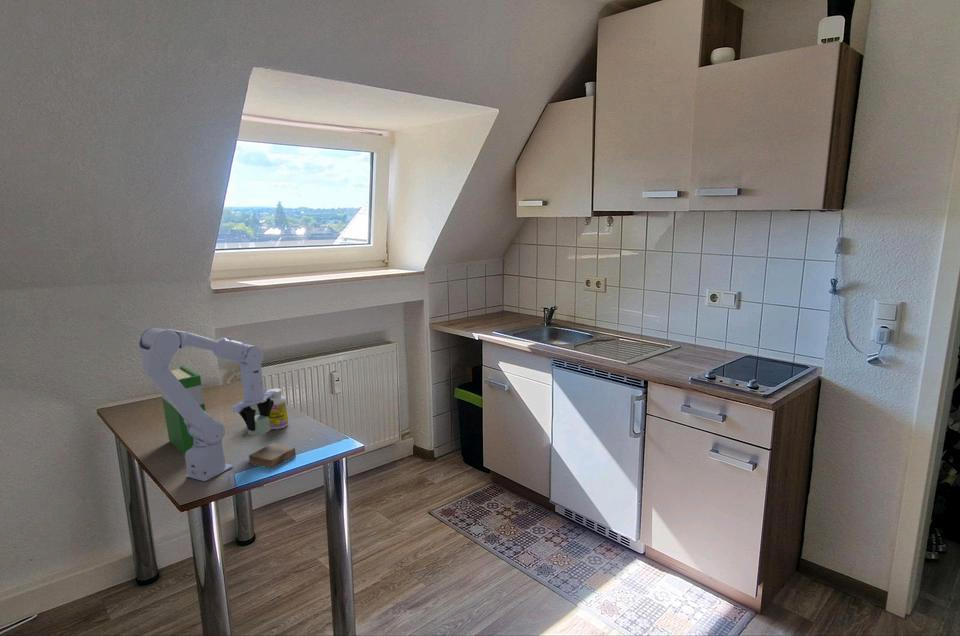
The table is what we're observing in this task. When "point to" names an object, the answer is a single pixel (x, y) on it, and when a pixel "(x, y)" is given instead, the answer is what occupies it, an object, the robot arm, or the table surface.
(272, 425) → the supplement bottle
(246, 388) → the robot arm
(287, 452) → the walnut block
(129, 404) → the table surface
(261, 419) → the sage cube
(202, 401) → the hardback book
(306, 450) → the table surface
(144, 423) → the table surface
